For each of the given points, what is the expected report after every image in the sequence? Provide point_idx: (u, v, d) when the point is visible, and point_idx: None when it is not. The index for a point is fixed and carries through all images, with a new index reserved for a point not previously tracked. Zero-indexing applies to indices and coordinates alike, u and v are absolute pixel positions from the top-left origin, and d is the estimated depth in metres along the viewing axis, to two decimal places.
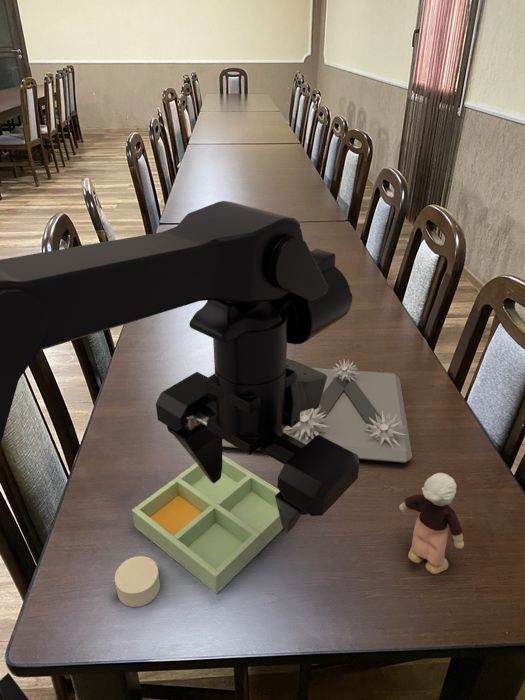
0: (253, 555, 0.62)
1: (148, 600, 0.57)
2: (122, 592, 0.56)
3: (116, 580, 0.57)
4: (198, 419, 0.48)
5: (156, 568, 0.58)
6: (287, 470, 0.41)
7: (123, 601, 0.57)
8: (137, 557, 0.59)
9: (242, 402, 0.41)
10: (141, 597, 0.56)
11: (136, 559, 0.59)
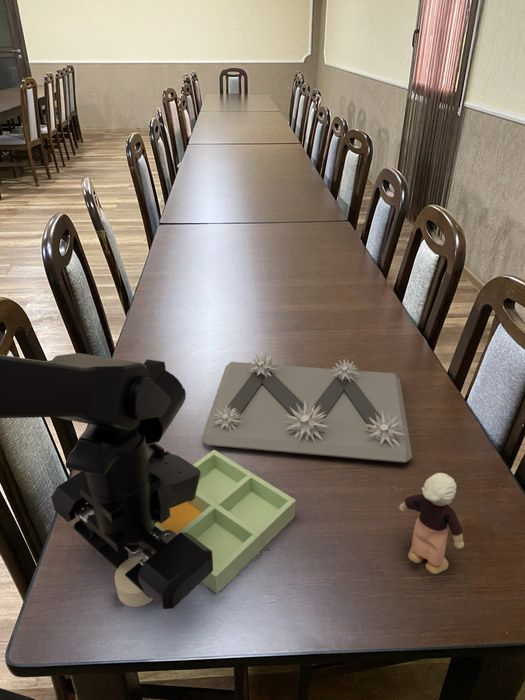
0: (253, 555, 0.62)
1: (148, 600, 0.57)
2: (122, 592, 0.56)
3: (116, 580, 0.57)
4: None
5: None
6: (145, 569, 0.48)
7: (123, 601, 0.57)
8: (137, 557, 0.59)
9: (106, 512, 0.48)
10: (141, 597, 0.56)
11: (136, 559, 0.59)
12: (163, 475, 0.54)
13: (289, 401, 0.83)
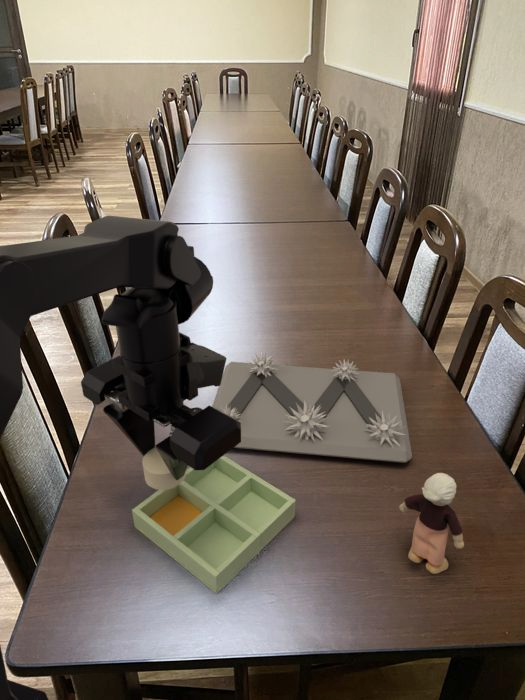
0: (253, 555, 0.62)
1: (175, 483, 0.59)
2: (150, 474, 0.58)
3: (144, 464, 0.58)
4: None
5: None
6: (177, 433, 0.50)
7: (151, 484, 0.58)
8: None
9: (139, 377, 0.49)
10: (169, 479, 0.58)
11: None
12: None
13: (289, 401, 0.83)
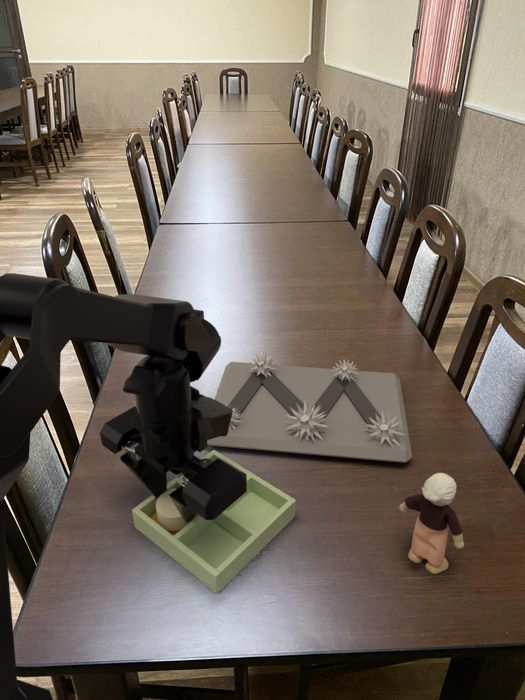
0: (253, 555, 0.62)
1: None
2: (163, 517, 0.63)
3: (157, 507, 0.64)
4: None
5: None
6: (189, 486, 0.55)
7: (163, 526, 0.64)
8: (174, 489, 0.66)
9: (155, 435, 0.55)
10: (180, 521, 0.63)
11: None
12: (201, 411, 0.61)
13: (289, 401, 0.83)
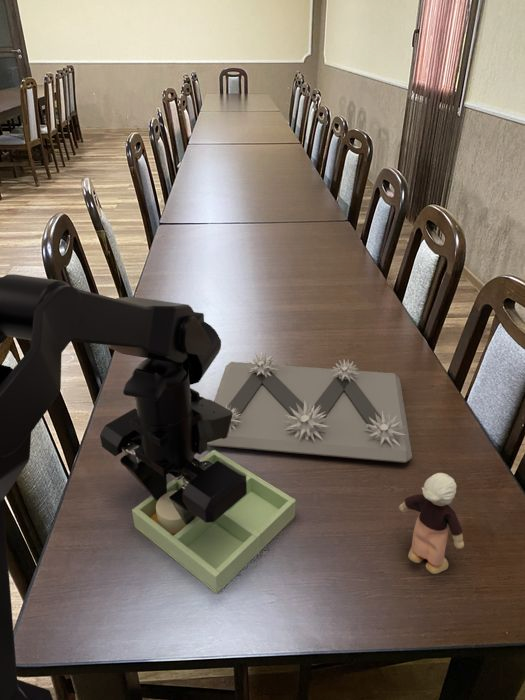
0: (253, 555, 0.62)
1: None
2: (163, 519, 0.63)
3: (157, 509, 0.64)
4: None
5: None
6: (189, 488, 0.55)
7: None
8: (174, 491, 0.66)
9: (155, 438, 0.55)
10: (180, 523, 0.63)
11: None
12: (201, 413, 0.61)
13: (289, 401, 0.83)
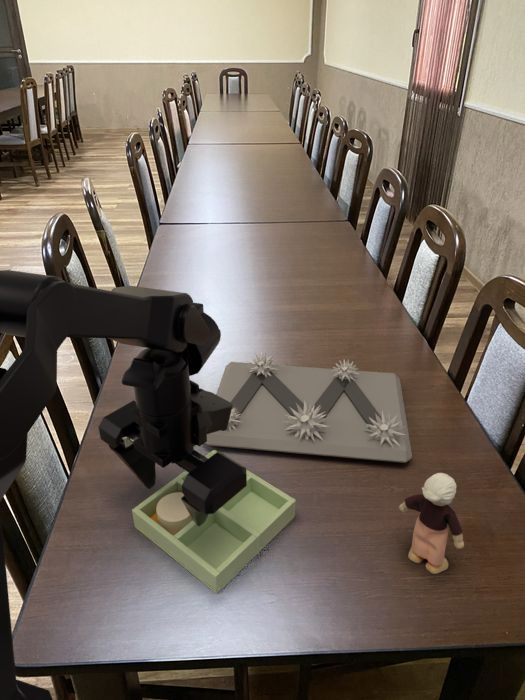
0: (253, 555, 0.62)
1: None
2: (164, 521, 0.63)
3: (158, 511, 0.64)
4: (131, 440, 0.61)
5: None
6: (188, 480, 0.55)
7: None
8: (175, 493, 0.67)
9: (154, 429, 0.54)
10: (180, 525, 0.63)
11: (174, 495, 0.66)
12: (200, 405, 0.61)
13: (289, 401, 0.83)
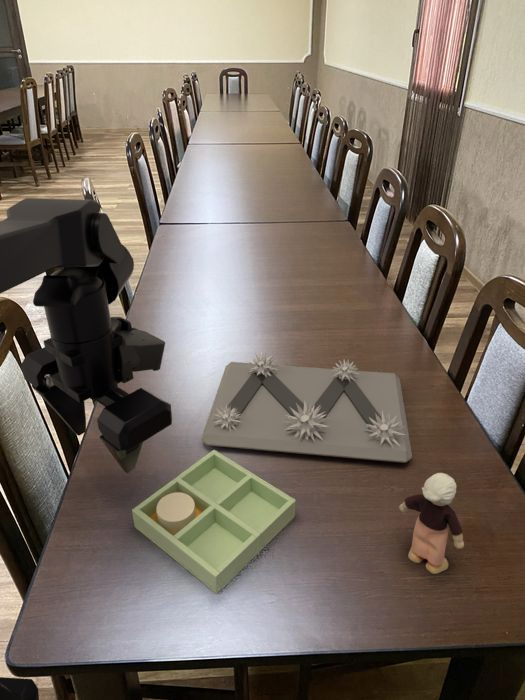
0: (253, 555, 0.62)
1: None
2: (164, 521, 0.63)
3: (158, 511, 0.64)
4: None
5: (192, 502, 0.65)
6: (104, 414, 0.50)
7: None
8: (175, 493, 0.67)
9: (67, 357, 0.50)
10: (180, 525, 0.63)
11: (174, 495, 0.66)
12: (127, 340, 0.56)
13: (289, 401, 0.83)
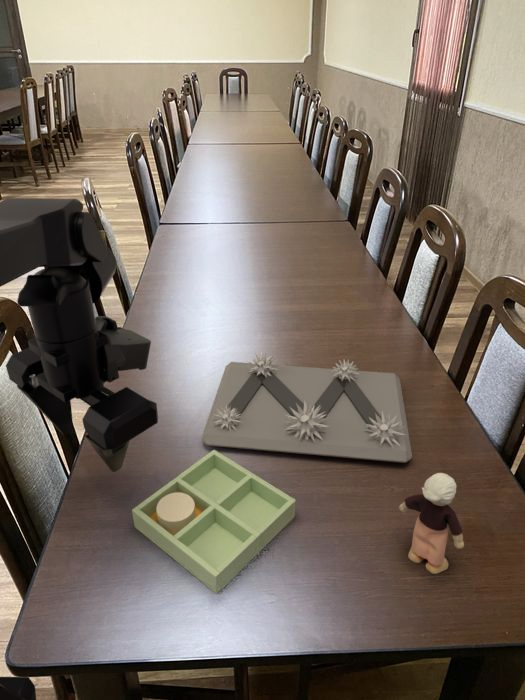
0: (253, 555, 0.62)
1: None
2: (164, 521, 0.63)
3: (158, 511, 0.64)
4: None
5: (192, 502, 0.65)
6: (89, 413, 0.50)
7: None
8: (175, 493, 0.67)
9: (51, 357, 0.50)
10: (180, 525, 0.63)
11: (174, 495, 0.66)
12: (112, 339, 0.56)
13: (289, 401, 0.83)
